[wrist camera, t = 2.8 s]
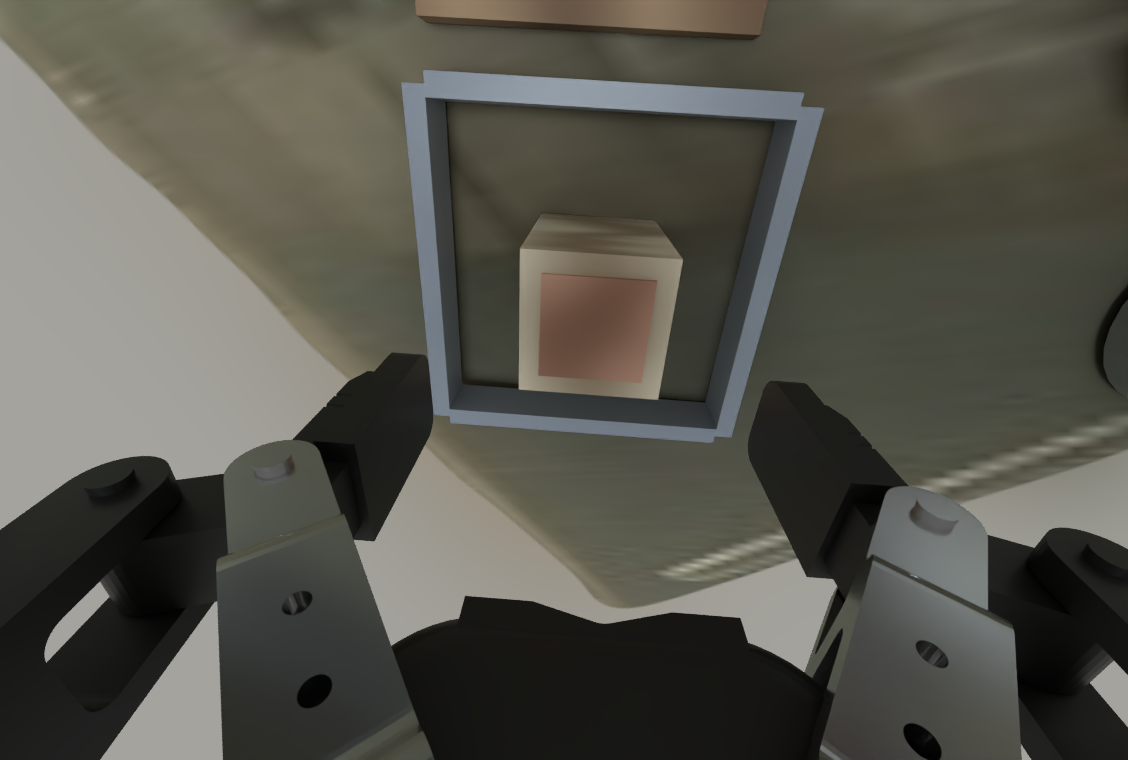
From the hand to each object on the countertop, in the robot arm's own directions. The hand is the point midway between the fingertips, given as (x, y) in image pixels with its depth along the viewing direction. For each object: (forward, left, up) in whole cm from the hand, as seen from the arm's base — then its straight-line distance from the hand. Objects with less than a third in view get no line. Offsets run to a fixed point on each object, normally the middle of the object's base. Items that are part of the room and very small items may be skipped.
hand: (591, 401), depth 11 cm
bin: (0, 0, -12) cm, 12 cm away
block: (0, 0, -12) cm, 12 cm away
